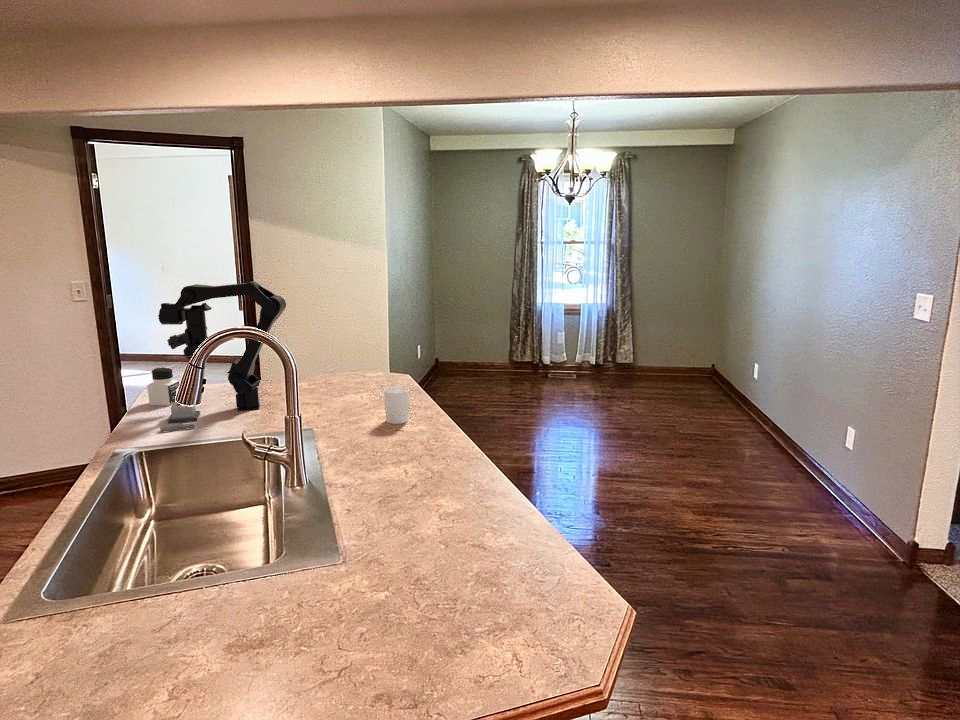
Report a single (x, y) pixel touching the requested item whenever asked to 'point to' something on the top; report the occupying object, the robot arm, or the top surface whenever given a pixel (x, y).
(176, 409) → the end link
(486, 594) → the top surface
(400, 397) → the white cup
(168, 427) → the chain tail
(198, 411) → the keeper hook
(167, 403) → the medicine bottle
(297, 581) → the top surface
